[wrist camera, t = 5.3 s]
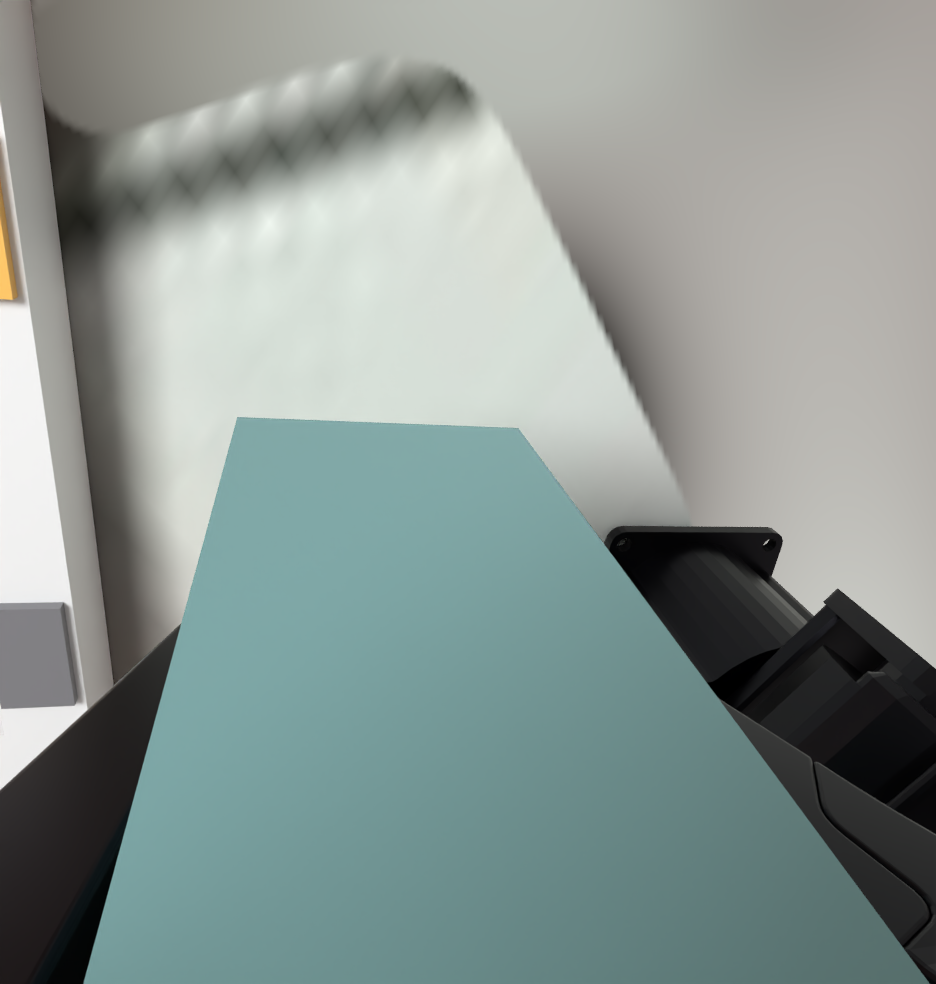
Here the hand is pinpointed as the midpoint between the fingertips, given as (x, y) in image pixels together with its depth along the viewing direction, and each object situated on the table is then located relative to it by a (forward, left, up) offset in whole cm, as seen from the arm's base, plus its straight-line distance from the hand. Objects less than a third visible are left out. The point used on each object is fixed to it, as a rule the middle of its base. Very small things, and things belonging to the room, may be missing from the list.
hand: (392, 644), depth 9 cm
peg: (0, 0, -2) cm, 2 cm away
